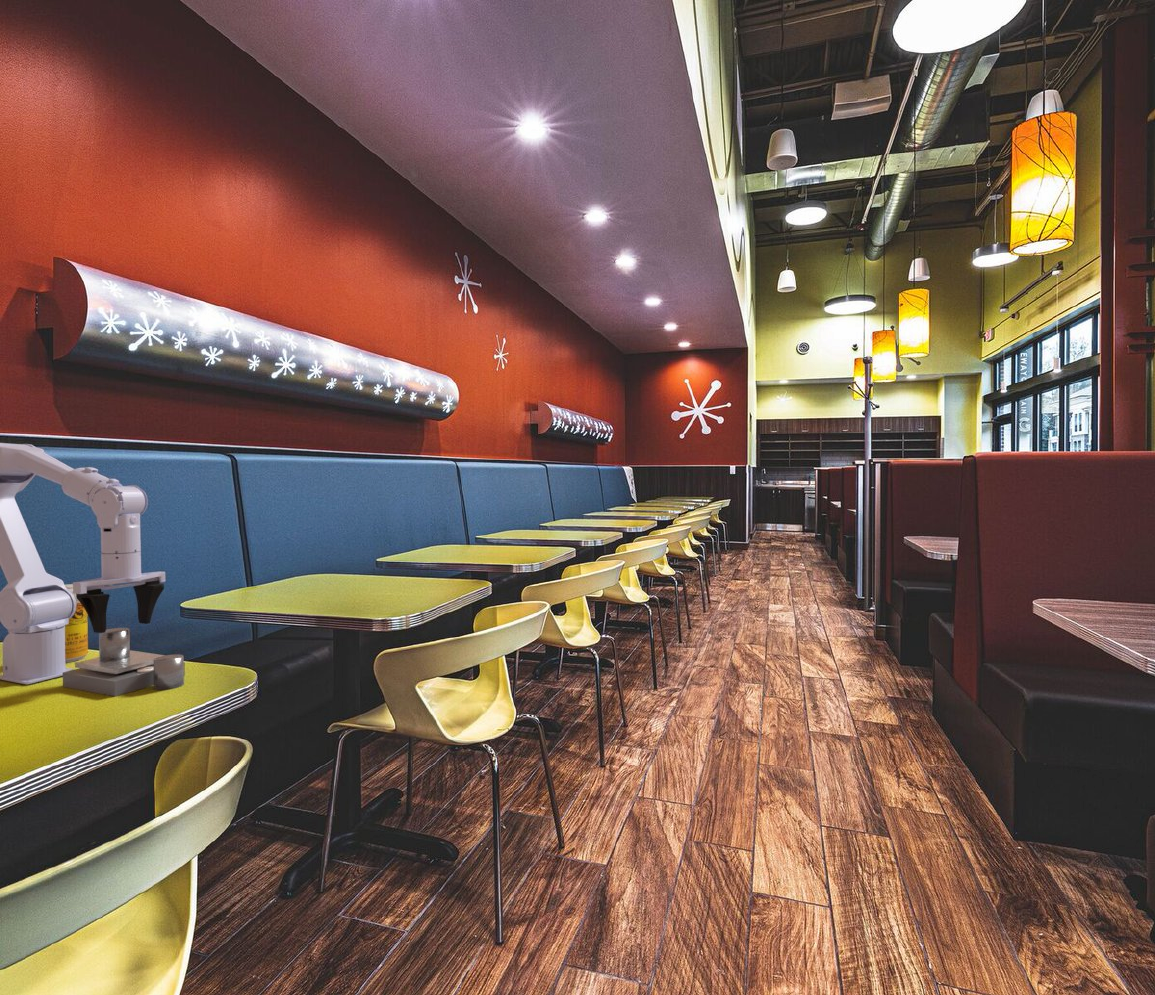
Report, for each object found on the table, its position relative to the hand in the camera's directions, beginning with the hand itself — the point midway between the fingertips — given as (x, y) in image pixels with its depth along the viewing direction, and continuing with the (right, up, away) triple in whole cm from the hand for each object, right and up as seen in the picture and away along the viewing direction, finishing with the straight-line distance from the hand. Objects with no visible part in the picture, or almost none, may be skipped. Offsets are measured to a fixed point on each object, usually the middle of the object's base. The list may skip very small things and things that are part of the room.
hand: (122, 627), depth 110 cm
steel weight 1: (-2, -6, +1) cm, 6 cm away
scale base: (+1, -10, -1) cm, 10 cm away
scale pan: (0, -6, 0) cm, 6 cm away
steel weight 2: (+10, -10, -3) cm, 15 cm away
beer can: (-21, -10, +13) cm, 27 cm away
